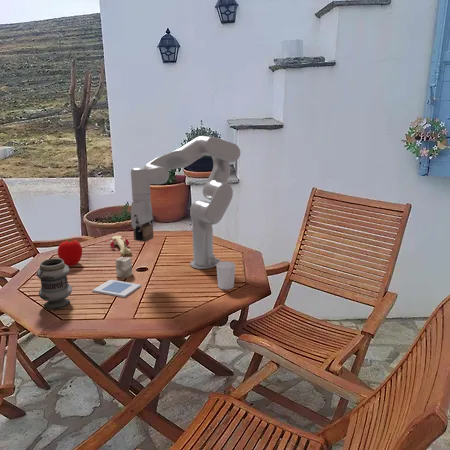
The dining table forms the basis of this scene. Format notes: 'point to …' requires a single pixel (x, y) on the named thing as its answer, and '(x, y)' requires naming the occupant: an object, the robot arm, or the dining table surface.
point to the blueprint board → (117, 288)
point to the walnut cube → (146, 232)
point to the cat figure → (121, 245)
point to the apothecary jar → (54, 283)
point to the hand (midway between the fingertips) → (143, 237)
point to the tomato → (70, 252)
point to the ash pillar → (123, 267)
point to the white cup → (225, 274)
